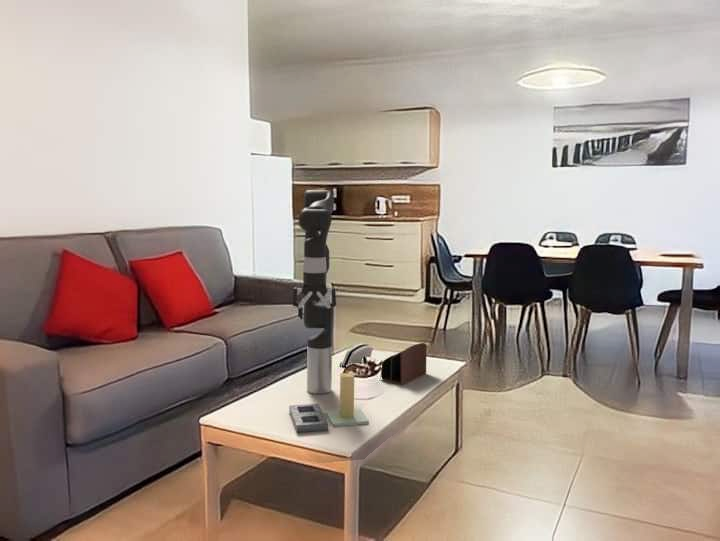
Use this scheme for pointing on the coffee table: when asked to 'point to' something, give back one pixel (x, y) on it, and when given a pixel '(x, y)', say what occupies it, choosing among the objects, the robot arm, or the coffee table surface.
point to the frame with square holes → (308, 418)
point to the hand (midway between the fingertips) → (314, 318)
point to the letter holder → (405, 365)
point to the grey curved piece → (357, 354)
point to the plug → (346, 395)
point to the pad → (338, 421)
